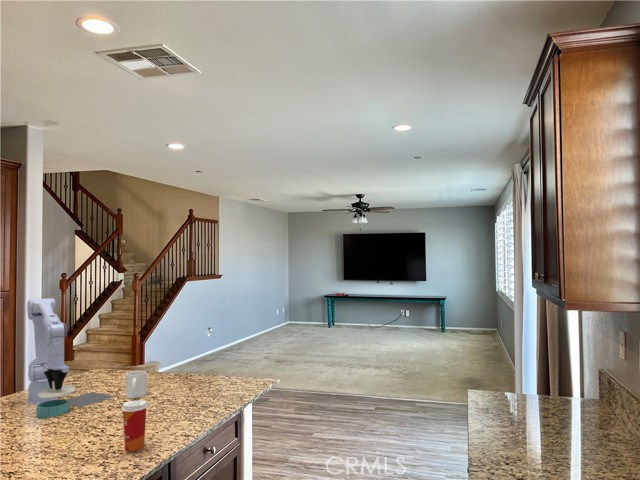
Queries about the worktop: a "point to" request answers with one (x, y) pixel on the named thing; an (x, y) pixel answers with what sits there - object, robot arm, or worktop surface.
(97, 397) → the mat
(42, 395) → the lid
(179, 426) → the worktop surface
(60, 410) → the bowl
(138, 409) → the paper cup
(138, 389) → the mug
